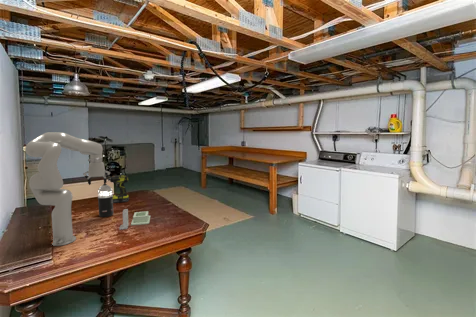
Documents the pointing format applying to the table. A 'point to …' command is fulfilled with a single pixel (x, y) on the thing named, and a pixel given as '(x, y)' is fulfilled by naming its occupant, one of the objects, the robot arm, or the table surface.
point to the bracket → (124, 220)
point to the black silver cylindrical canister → (105, 201)
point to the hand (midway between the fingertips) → (97, 184)
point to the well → (140, 218)
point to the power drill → (119, 183)
